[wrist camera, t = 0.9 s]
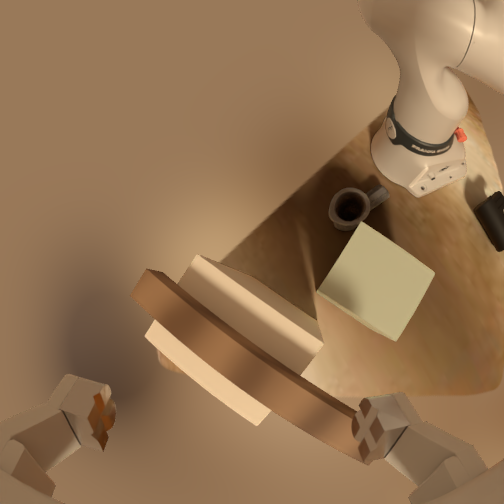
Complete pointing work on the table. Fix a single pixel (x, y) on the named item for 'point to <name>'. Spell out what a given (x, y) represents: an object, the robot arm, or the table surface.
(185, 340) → the walnut bar
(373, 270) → the low stool
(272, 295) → the tall stand
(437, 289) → the table surface
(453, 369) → the table surface
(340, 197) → the pipe
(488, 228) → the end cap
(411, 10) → the robot arm
